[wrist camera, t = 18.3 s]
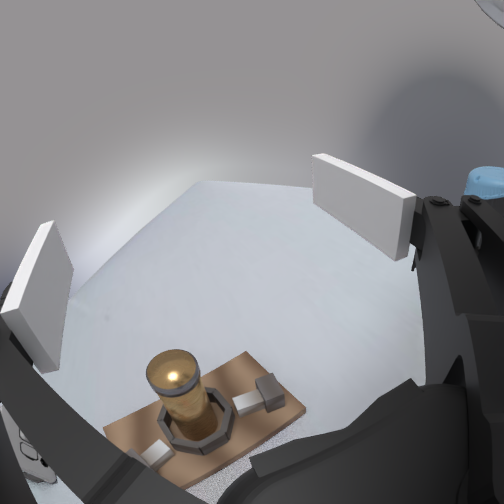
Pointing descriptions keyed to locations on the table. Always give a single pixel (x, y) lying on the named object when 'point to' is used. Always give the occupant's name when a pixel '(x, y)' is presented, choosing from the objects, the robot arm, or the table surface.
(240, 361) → the base
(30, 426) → the robot arm
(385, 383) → the table surface
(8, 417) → the electrical switch
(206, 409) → the brass cylinder
